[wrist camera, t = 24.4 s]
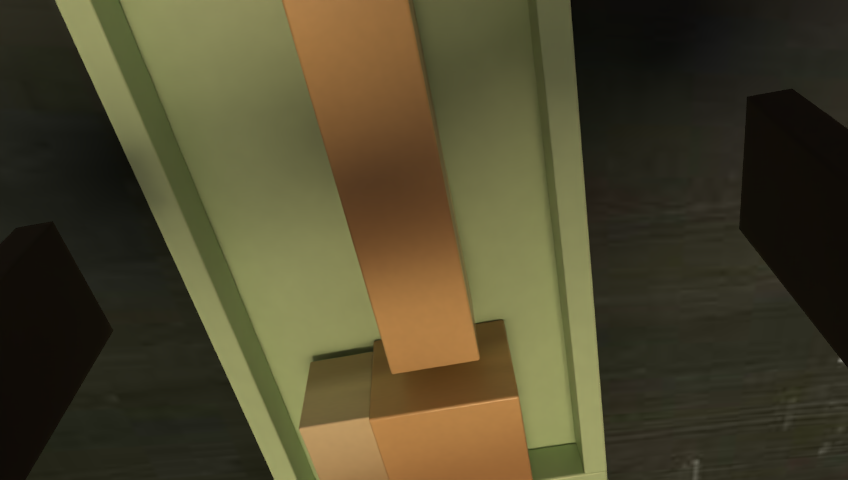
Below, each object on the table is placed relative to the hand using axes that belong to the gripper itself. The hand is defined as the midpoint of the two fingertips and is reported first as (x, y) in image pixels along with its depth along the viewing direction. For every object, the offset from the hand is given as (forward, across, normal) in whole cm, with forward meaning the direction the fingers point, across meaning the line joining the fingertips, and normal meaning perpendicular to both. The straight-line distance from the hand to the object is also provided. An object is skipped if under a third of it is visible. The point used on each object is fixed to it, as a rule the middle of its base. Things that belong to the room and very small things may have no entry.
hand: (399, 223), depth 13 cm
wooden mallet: (+6, -2, -4) cm, 8 cm away
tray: (+7, -1, -4) cm, 8 cm away
